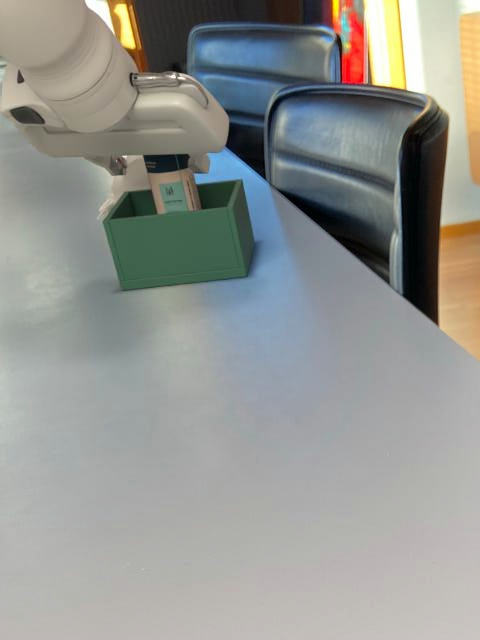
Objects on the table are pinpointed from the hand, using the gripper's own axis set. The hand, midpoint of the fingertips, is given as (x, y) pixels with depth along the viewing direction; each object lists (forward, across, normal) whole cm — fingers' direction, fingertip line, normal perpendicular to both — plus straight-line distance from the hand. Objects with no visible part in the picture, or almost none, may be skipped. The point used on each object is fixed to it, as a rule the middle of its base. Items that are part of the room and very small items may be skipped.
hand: (161, 168), depth 106 cm
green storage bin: (+8, 0, +7) cm, 10 cm away
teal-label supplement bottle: (+7, 0, +6) cm, 9 cm away
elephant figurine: (+19, +12, -4) cm, 22 cm away
